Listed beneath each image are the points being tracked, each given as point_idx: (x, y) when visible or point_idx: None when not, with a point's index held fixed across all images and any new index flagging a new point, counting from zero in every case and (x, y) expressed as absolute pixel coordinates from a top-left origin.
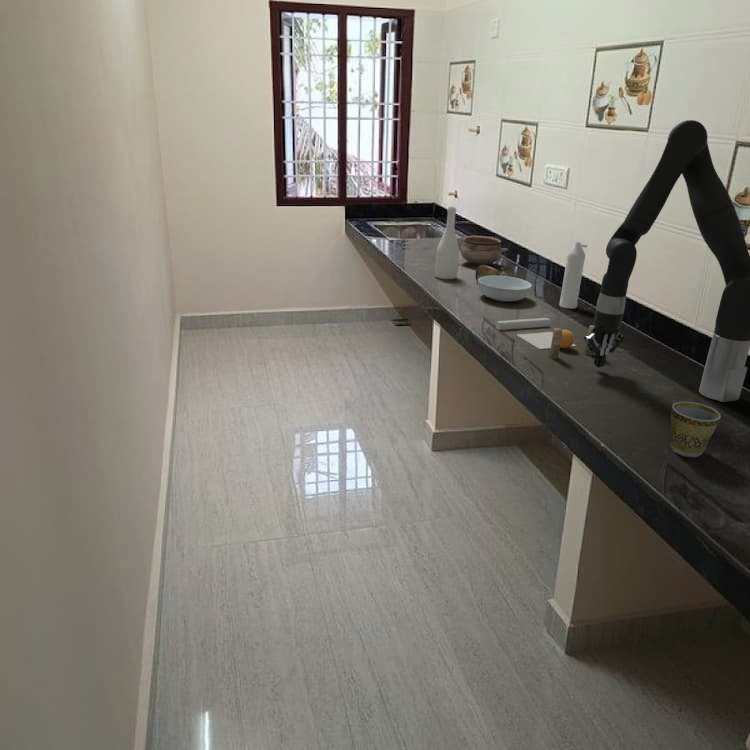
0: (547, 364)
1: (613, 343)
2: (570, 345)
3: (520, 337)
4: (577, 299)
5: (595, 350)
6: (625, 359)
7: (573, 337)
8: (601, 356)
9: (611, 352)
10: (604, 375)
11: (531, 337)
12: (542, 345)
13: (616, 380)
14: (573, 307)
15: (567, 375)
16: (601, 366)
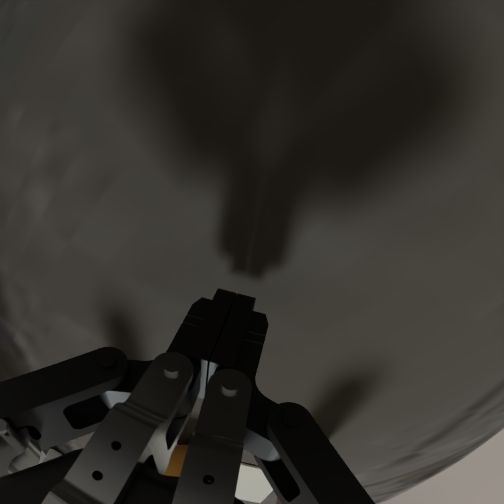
0: (403, 422)
1: (62, 416)
2: (183, 452)
3: (264, 498)
4: (45, 459)
5: (314, 444)
6: (28, 295)
7: (164, 474)
8: (234, 364)
9: (118, 352)
10: (264, 219)
11: (236, 491)
12: (253, 476)
13: (255, 108)
14: (56, 452)
15: (471, 325)
16: (234, 294)
